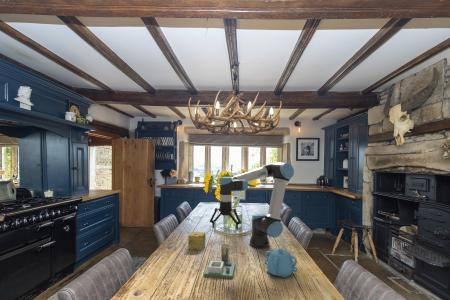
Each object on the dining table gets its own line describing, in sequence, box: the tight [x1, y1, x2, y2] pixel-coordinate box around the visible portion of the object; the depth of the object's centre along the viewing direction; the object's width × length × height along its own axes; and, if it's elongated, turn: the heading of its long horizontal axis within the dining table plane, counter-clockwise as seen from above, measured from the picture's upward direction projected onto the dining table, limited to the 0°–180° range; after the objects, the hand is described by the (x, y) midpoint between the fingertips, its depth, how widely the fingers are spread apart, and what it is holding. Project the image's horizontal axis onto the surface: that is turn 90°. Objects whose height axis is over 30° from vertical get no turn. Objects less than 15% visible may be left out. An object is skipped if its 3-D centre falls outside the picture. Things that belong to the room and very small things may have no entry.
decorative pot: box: [264, 248, 298, 279], centre depth 142 cm, size 16×16×14 cm
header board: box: [203, 259, 236, 279], centre depth 145 cm, size 16×18×4 cm
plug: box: [220, 243, 230, 261], centre depth 157 cm, size 4×6×10 cm
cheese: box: [187, 231, 207, 251], centre depth 181 cm, size 10×11×10 cm
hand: (225, 234), depth 158 cm, fingers open, 13 cm apart
